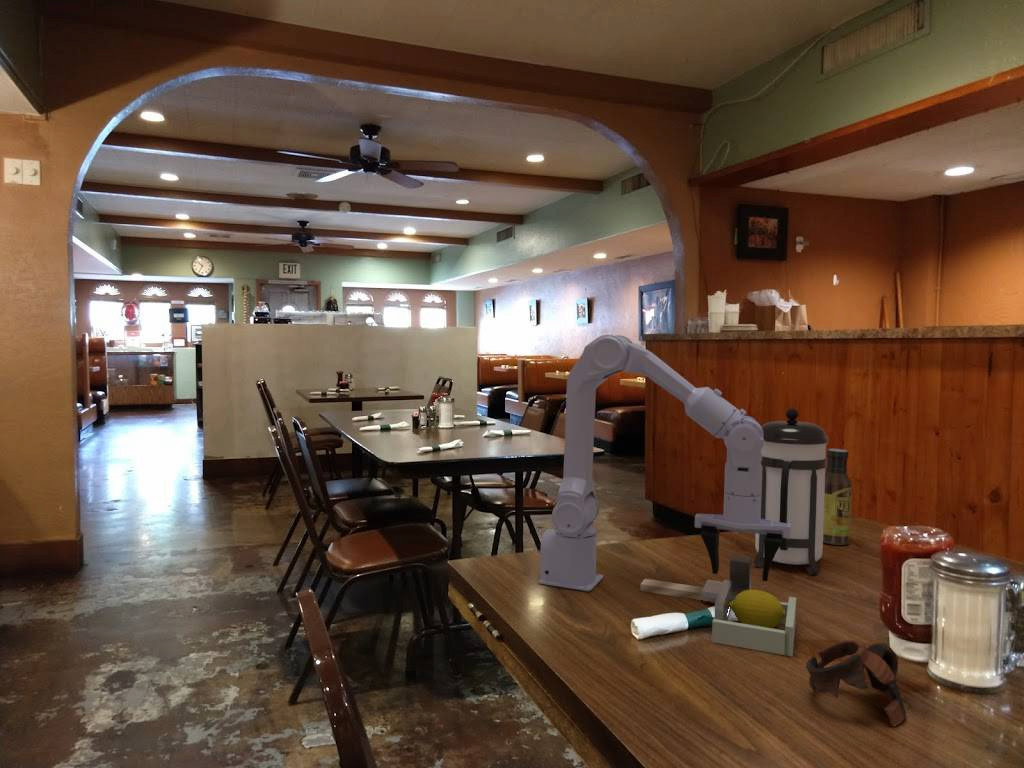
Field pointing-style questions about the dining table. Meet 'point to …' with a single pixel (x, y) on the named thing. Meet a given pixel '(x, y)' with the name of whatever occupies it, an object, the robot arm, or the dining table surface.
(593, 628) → the dining table surface
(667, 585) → the rail
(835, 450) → the sauce bottle
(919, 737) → the dining table surface
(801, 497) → the coffee press
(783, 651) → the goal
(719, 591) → the slider
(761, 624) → the lemon
